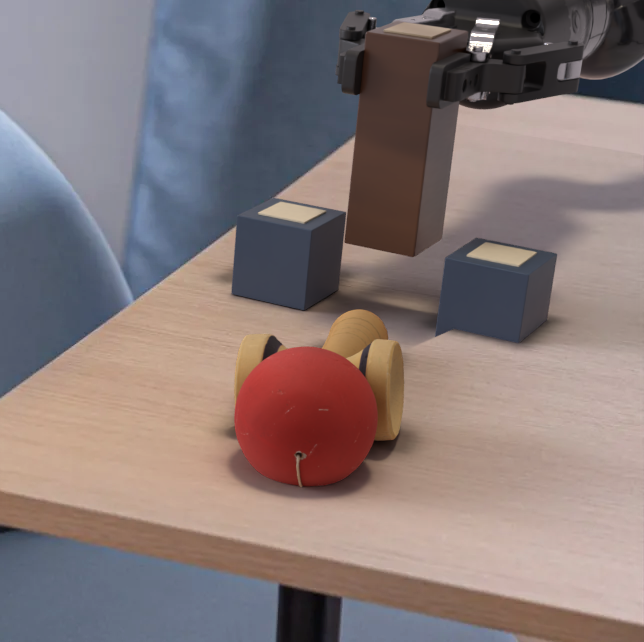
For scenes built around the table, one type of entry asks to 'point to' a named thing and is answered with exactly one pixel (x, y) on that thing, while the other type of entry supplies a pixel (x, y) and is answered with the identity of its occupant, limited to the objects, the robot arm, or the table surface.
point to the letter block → (401, 141)
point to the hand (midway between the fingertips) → (391, 80)
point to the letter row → (325, 263)
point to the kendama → (318, 400)
